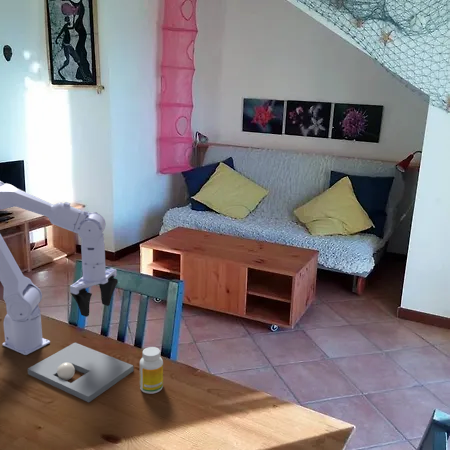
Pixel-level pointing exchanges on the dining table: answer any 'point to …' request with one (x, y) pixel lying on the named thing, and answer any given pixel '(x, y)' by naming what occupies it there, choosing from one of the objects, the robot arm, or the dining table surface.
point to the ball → (66, 371)
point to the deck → (82, 371)
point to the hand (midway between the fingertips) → (95, 309)
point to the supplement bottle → (151, 371)
